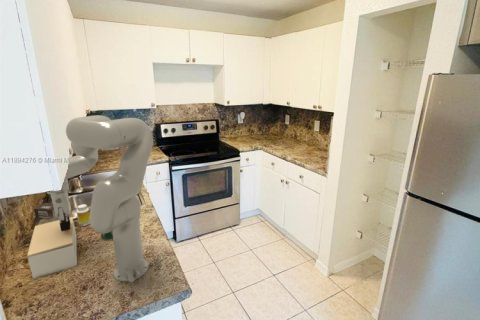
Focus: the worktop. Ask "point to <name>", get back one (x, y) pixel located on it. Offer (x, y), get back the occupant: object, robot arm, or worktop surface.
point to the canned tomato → (107, 236)
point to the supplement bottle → (83, 215)
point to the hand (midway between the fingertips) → (66, 227)
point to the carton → (54, 259)
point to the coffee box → (45, 213)
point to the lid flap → (50, 237)
